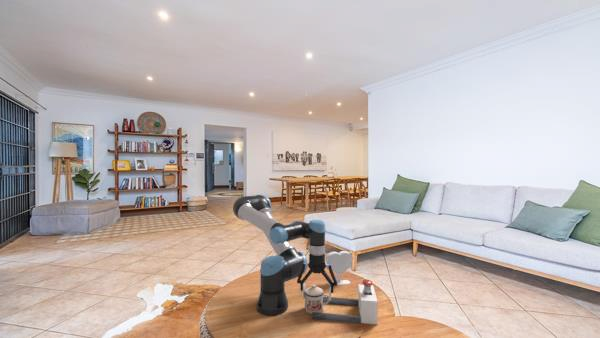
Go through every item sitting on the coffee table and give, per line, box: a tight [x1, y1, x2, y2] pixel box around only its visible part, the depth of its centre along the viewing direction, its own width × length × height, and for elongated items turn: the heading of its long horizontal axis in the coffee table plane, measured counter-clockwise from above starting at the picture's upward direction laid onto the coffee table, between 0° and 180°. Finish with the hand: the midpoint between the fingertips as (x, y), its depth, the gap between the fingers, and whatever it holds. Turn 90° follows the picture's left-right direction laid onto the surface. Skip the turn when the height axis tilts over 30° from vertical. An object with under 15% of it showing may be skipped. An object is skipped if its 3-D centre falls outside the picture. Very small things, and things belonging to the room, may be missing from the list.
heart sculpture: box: [325, 250, 354, 286], centre depth 158 cm, size 16×5×18 cm, turn 101°
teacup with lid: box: [304, 284, 329, 315], centre depth 128 cm, size 12×9×12 cm
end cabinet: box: [357, 283, 379, 325], centre depth 125 cm, size 7×16×10 cm, turn 172°
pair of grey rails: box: [311, 296, 362, 324], centre depth 127 cm, size 22×16×2 cm
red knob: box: [362, 279, 373, 295], centre depth 124 cm, size 4×4×7 cm
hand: (316, 298), depth 128 cm, fingers closed on teacup with lid, 12 cm apart
